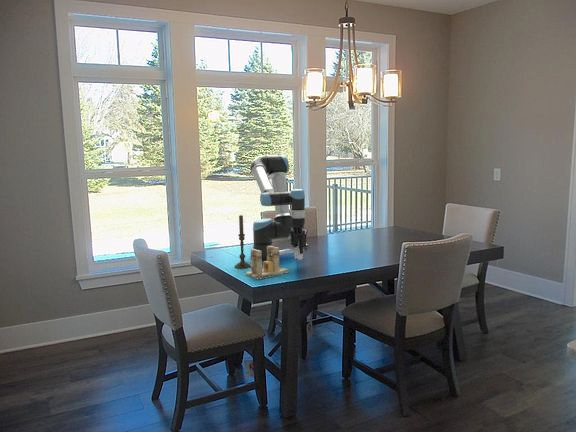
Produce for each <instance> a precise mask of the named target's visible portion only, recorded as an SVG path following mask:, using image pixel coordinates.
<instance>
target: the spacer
mask: <svg viewBox="0 0 576 432" xmlns="http://www.w3.org/2000/svg"><path fill="white" fill-rule="evenodd" d="M262 268H263V270H264V271H267V272H272V271H274V267H273V262H272V261H268V260H262Z"/></svg>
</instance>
